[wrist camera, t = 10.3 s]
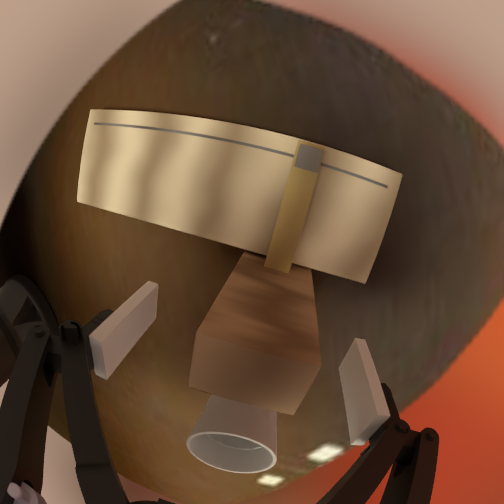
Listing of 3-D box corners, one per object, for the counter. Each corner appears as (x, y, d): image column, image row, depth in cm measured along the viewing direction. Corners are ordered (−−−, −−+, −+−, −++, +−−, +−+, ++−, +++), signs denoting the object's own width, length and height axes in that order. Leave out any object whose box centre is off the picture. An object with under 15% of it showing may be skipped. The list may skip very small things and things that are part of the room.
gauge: (237, 283, 26) (187, 386, 13) (274, 138, 22) (247, 98, 9) (297, 300, 26) (293, 415, 13) (342, 157, 21) (404, 146, 8)
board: (88, 198, 26) (76, 201, 24) (102, 111, 23) (90, 109, 21) (360, 275, 24) (365, 283, 22) (394, 173, 21) (402, 174, 19)
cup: (284, 344, 28) (273, 435, 17) (287, 393, 30) (278, 475, 19) (212, 344, 29) (174, 425, 18) (224, 392, 32) (199, 467, 20)
